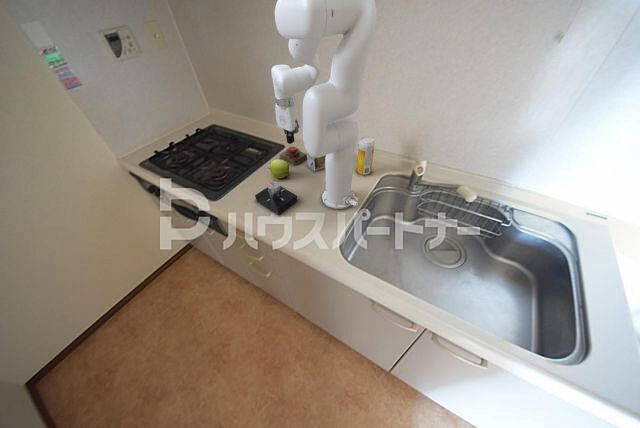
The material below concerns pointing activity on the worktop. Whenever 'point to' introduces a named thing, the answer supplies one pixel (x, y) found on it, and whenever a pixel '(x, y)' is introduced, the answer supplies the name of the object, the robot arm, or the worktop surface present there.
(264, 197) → the plate
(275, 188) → the tap knob
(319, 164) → the coffee box
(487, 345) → the worktop surface
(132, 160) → the worktop surface
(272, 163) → the apple
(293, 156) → the switch block
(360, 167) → the beer can
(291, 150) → the drain button
